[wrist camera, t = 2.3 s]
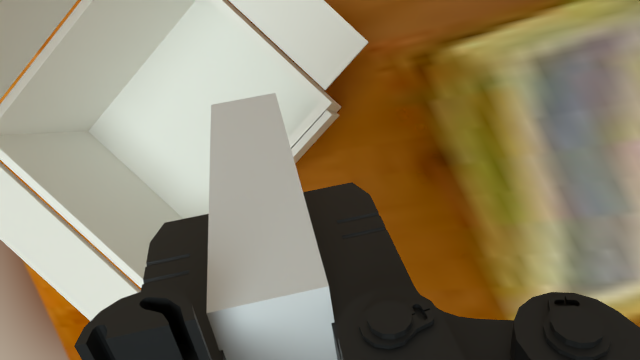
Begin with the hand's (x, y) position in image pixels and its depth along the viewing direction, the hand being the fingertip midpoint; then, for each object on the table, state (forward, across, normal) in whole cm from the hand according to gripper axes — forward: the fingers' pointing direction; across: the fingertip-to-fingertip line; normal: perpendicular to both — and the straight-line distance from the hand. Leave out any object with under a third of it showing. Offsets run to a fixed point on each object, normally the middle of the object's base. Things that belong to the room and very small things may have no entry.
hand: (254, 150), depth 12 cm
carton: (+28, -4, -11) cm, 30 cm away
